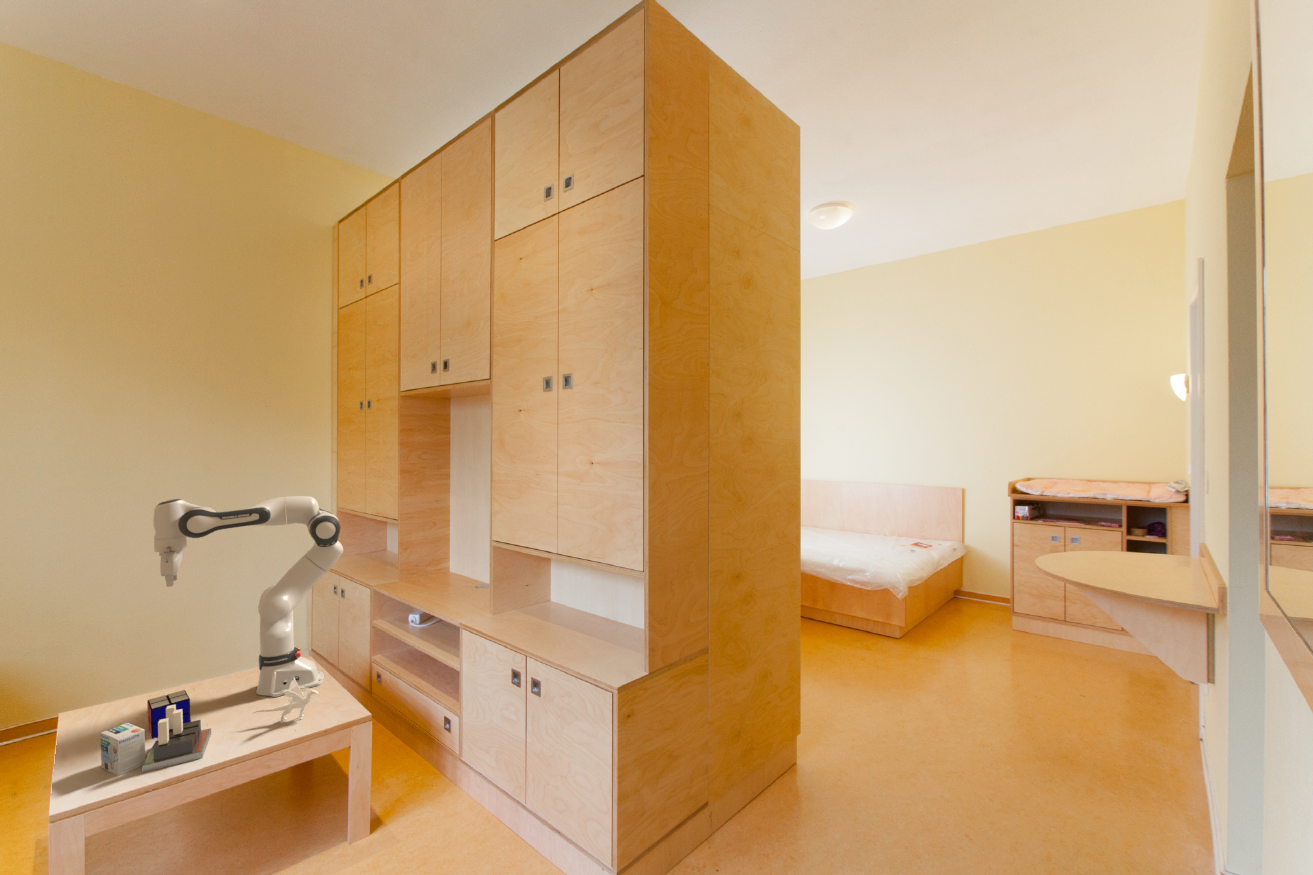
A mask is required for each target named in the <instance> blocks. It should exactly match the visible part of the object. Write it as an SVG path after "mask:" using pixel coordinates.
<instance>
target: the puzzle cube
mask: <svg viewBox="0 0 1313 875" xmlns="http://www.w3.org/2000/svg"><path fill="white" fill-rule="evenodd" d="M175 704H176V710H179V709H182V712H183V723H188V722H192V721H191V720H192V719H191V699H190V696H189V695H188V693H187V691H186V690H185V689H182V690H179V691H175V692H171V693H168V694H164V695H161V696H158V697H153V698H150V699H148V700H147V728H148V732H149V735H150V737H151V739H156V738H158V722H159V720H161V719H166V708H167V706H170V705H175Z"/></svg>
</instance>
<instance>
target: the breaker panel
mask: <svg viewBox="0 0 1313 875" xmlns="http://www.w3.org/2000/svg"><path fill="white" fill-rule="evenodd" d="M201 723H202V722H201V719H198V720H194V721H191V722H188V723H183V731H182V733H181V734H176V735H173V729H170V730H169V741H168V743H166V744H162V745H159V743H158V739H157V740H155V741H154V743H153V745H152V747H151V749H150V750H149V752H148V754H147V756H146V757H145V762H144V763H143V765H142V766H141V773H142V774H143V773H146V772H147V773H148V772H151V771H155V770H160V769H164V768H168V767H172V766H175V765H180V764H184V763H189V762H191V761H195V760H196V761H197V760H200V759H203V757H204V754H205V752H206V750H207V747H208V744H209V741H210V738H211V736H212V728H211V727H210V728H206V729H202V726H201Z"/></svg>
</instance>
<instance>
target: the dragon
mask: <svg viewBox="0 0 1313 875" xmlns="http://www.w3.org/2000/svg"><path fill="white" fill-rule="evenodd" d="M301 688H304V689H300V688H299V686H298V684H297V682H296V680H295V678H294V679H293V680H292V682H291V684H290V687H289V690H286V692H285V695H284V696H285V697H288V698H289V699H288V702H286V703H285V704H282V705H279V706H276V707H271V708H270V707H269V708H264V709H259V710H258V709H257V710H255V711H253V712H252V713H251V715H252V714H254V713H255V714H256V713H263V712H264V713H268V712H280V711H283V712H282V713H281V716H280V722H281V723H286V721H287V720H288V718H287V717H285V716H287V715H289V714H290V713H291V712H292V711H293V709H300V711H299V716H298V718H299V719H300V720H303V719H304V717H305V715H304V714H303V713H304V710H305V707H307V705H308V704H309V703H311V699H312V696H313V695H317V696H319V694H320V693H319V692H318V691H317V690H315V689H312V688H305V687H301ZM303 691H304V692H307V691H308V692H307V694H306V696H305V695H304V693H303Z"/></svg>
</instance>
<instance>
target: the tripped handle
mask: <svg viewBox="0 0 1313 875" xmlns="http://www.w3.org/2000/svg"><path fill="white" fill-rule="evenodd" d="M172 715H173V735H176V734H181V733H182V731H183V712H182V709H179V710H175V711H174V712H173V714H172Z"/></svg>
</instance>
